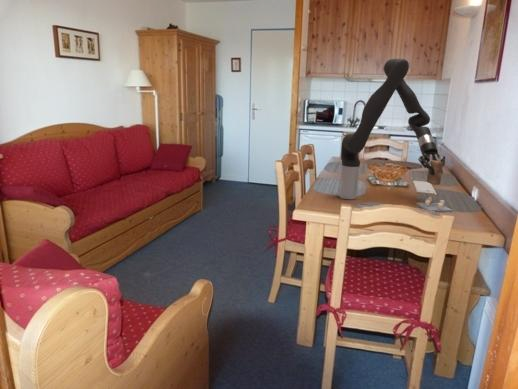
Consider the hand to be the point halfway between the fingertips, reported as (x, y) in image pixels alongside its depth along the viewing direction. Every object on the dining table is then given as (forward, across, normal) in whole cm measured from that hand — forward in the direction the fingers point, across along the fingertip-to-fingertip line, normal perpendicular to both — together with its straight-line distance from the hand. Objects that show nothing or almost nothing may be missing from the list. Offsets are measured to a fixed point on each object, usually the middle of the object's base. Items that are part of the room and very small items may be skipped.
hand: (437, 174), depth 196 cm
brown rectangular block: (+2, 0, +5) cm, 5 cm away
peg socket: (+13, 0, +11) cm, 17 cm away
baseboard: (-16, +19, +41) cm, 48 cm away
